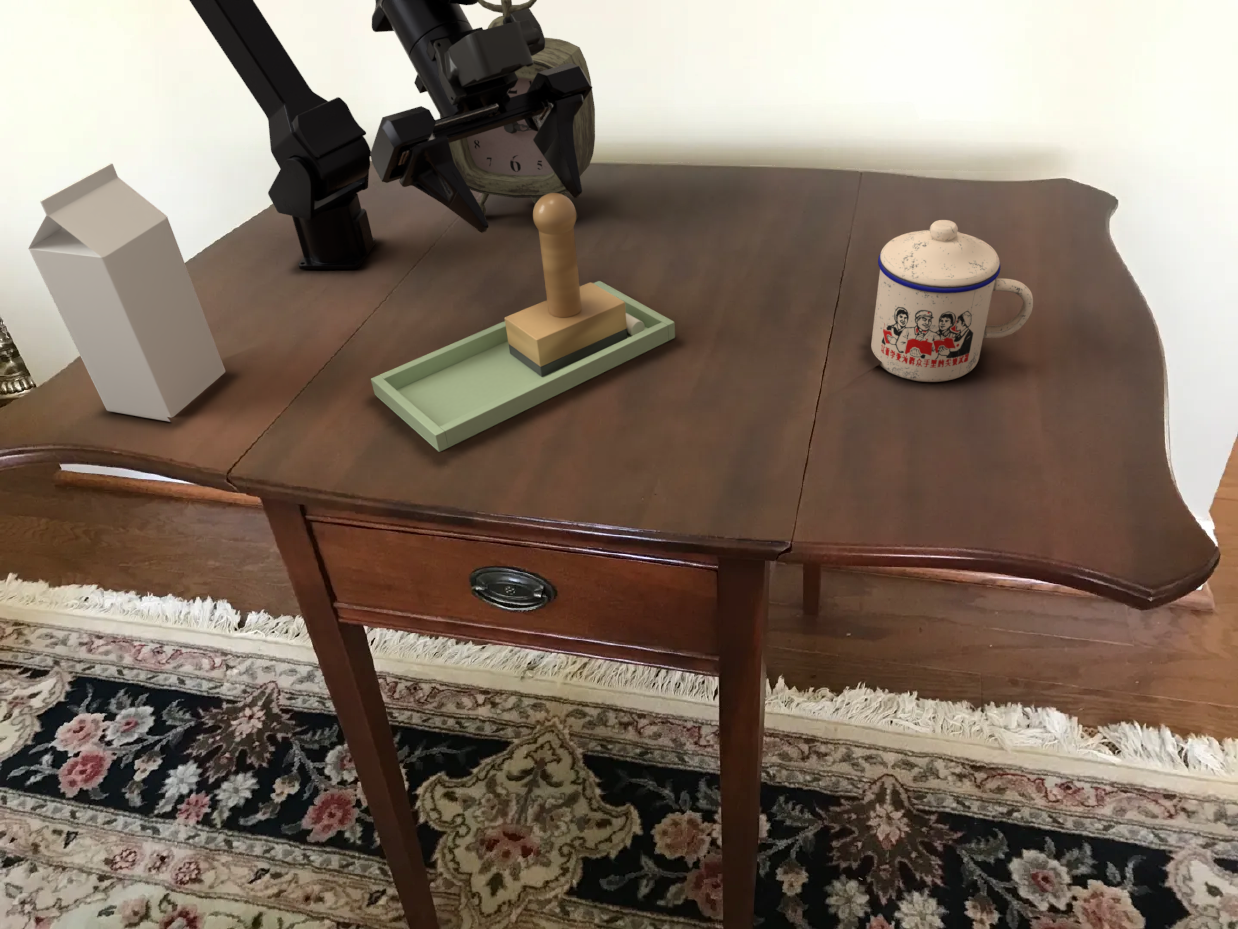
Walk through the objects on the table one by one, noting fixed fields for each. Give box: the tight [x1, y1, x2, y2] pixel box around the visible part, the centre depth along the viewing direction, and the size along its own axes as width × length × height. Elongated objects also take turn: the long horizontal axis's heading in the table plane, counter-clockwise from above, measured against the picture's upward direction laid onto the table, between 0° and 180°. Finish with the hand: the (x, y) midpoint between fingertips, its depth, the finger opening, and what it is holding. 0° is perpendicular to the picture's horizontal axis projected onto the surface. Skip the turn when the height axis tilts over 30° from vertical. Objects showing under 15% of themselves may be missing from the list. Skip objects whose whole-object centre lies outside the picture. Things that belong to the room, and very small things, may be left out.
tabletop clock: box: [439, 0, 596, 220], centre depth 100 cm, size 14×9×25 cm, turn 73°
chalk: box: [626, 313, 645, 336], centre depth 85 cm, size 6×2×2 cm
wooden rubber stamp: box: [504, 193, 627, 377], centre depth 79 cm, size 9×5×14 cm, turn 127°
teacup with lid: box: [870, 219, 1034, 383], centre depth 76 cm, size 12×9×12 cm
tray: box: [370, 280, 676, 453], centre depth 81 cm, size 24×11×2 cm, turn 128°
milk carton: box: [28, 163, 226, 423], centre depth 76 cm, size 7×7×19 cm
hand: (533, 212), depth 78 cm, fingers open, 9 cm apart
